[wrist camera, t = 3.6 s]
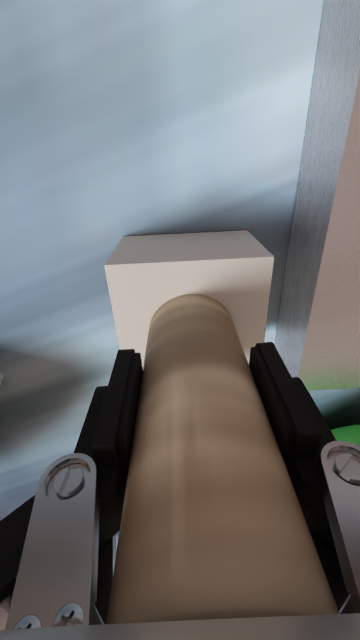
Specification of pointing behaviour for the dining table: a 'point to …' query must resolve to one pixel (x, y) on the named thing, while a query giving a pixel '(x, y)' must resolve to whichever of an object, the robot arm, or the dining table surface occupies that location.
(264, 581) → the peg
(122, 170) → the dining table surface
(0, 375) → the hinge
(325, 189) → the plate
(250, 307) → the beige square block
